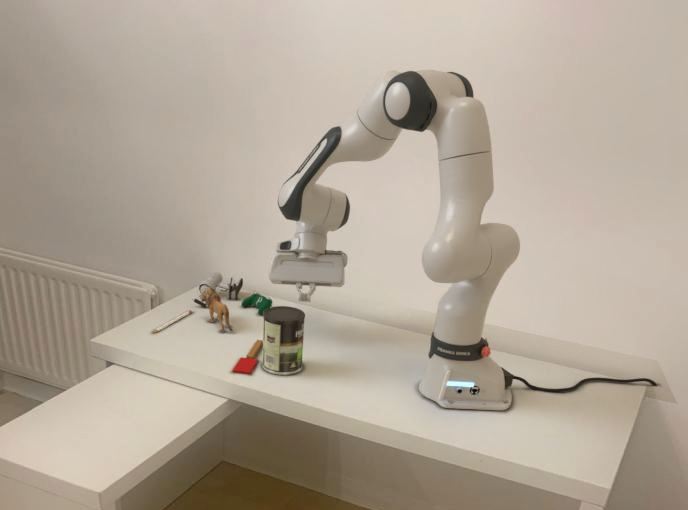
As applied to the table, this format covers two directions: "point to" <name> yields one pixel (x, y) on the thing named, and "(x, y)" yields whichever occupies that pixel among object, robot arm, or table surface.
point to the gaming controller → (258, 302)
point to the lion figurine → (216, 307)
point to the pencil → (172, 321)
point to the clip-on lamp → (215, 281)
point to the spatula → (248, 360)
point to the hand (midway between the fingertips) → (304, 301)
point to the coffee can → (283, 340)
